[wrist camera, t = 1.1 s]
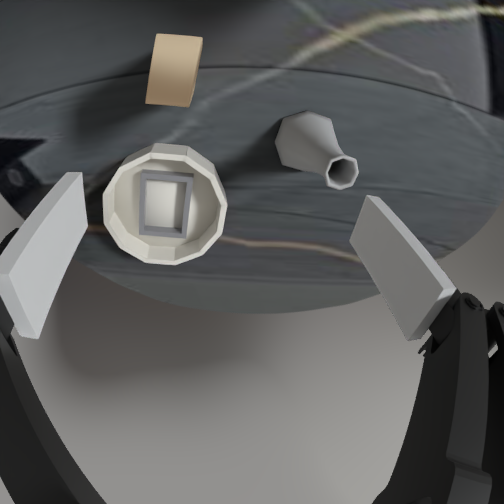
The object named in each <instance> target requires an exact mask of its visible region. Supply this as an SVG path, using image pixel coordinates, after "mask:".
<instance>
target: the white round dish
mask: <svg viewBox="0 0 504 504" xmlns="http://www.w3.org/2000/svg"><path fill="white" fill-rule="evenodd" d="M226 209H227V201H226V195H225V190H224V188H223V186H222V183H221V181H220V178H219V176H218V174H217V171H216V169H215V166H214V164H213V163H211V162H210V161H208V160H207V159H206V158H204V157H203V156H201V155H200V154H199V153H197V152H196V151H194V150H193V149H191V148H190V147H189V146H184V145H173V144H161V143H154V144H152V145H150V146H148V147H146V148H143V149H141V150H139V151H137V152H135V153H133V154H131V155H129V156H127V157H126V158H125V160H124V161H123V163H122V164H121V166H120V167H119V169H118V170H117V172H116V173H115V175H114V177H113V178H112V180H111V182H110V183H109V185H108V187H107V188H106V190H105V192H104V193H103V215H104V225H105V226H106V228H107V229H108V231H109V232H110V234H111V236H112V237H113V239H114V240H115V242H116V243H117V245H118V246H119V248H120V249H122V250H124V251H126V252H127V253H129V254H131V255H133V256H134V257H136V258H138V259H140V260H142V261H143V262H145V263H155V264H167V265H177V264H180V263H182V262H185V261H188V260H190V259H193V258H196V257H199V256H201V255H203V254H204V253H205V252H206V251H207V250H208V249H209V248H210V246H211V245H212V244H213V243H214V242H215V241H216V240H217V239H218V238H219V236H220V235H221V234H222V231H223V226H224V220H225V215H226Z"/></svg>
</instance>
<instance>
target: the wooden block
mask: <svg viewBox="0 0 504 504" xmlns="http://www.w3.org/2000/svg"><path fill="white" fill-rule="evenodd" d="M202 47H203V44H202V37H195V36H184V35H172V34H157V35H156V40H155V45H154V50H153V56H152V61H151V67H150V74H149V80H148V87H147V95H146V102H145V104H158V105H171V106H182V107H189V106H190V102H191V99H192V96H193V93H194V88H195V82H196V77H197V72H198V66H199V61H200V56H201V52H202Z"/></svg>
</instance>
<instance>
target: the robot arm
mask: <svg viewBox="0 0 504 504" xmlns="http://www.w3.org/2000/svg"><path fill="white" fill-rule="evenodd" d="M87 227H88V223H87V216H86V208H85V200H84V190H83V180H82V172H67V173H66V174H65V175H64V176H63V177H62V178H61V179H60V180H59V181H58V183H57V184H56V185H55V186H54V187H53V188H52V189H51V190H50V192H49V193H48V194H47V195H46V196H45V197H44V199H43V200H42V201H41V202H40V203H39V205H38V206H37V207H36V208H35V209H34V211H33V212H32V213H31V214H30V216H29V217H28V218H27V219H26V221H25V222H24V223H23V225H22V226H21V227H20V228H16V229H14V230H13V231H12V232H10V233H9V234H8V235H7V236H6V237H5V238H4V239H3V241H2V242H1V244H0V477H1V479H2V481H3V483H4V485H5V487H6V488H7V490H8V492H9V494H10V496H11V498H12V500H13V501H14V503H15V504H106V502H105V501H104V500H103V499H102V497H101V496H100V495H99V494H98V492H97V491H96V490H95V489H94V487H93V486H92V485H91V483H90V482H89V481H88V479H87V478H86V476H85V475H84V474H83V472H82V471H81V469H80V468H79V466H78V465H77V464H76V462H75V461H74V459H73V458H72V456H71V455H70V453H69V451H68V450H67V448H66V447H65V445H64V444H63V442H62V440H61V439H60V437H59V435H58V433H57V432H56V430H55V428H54V426H53V425H52V423H51V421H50V419H49V417H48V415H47V414H46V412H45V410H44V408H43V406H42V404H41V402H40V400H39V398H38V396H37V394H36V392H35V390H34V387H33V385H32V383H31V381H30V379H29V376H28V374H27V372H26V369H25V367H24V365H23V362H22V360H21V357H20V355H19V352H18V349H17V347H16V344H15V341H14V339H13V337H12V335H11V334H10V333H11V331H12V328H13V326H14V325H15V327H16V329H17V331H18V332H19V334H20V336H23V337H29V338H34V339H38V338H39V336H40V333H41V330H42V327H43V325H44V322H45V319H46V317H47V314H48V311H49V309H50V306H51V304H52V301H53V299H54V297H55V294H56V292H57V289H58V287H59V285H60V282H61V280H62V278H63V276H64V274H65V271H66V269H67V267H68V265H69V263H70V261H71V259H72V256H73V254H74V252H75V250H76V248H77V246H78V244H79V242H80V240H81V238H82V236H83V235H84V233H85V231H86V229H87ZM349 242H350V243H351V245H352V246H353V248H354V250H355V251H356V253H357V254H358V256H359V258H360V259H361V261H362V262H363V264H364V266H365V267H366V269H367V271H368V272H369V274H370V276H371V277H372V279H373V281H374V282H375V284H376V286H377V287H378V289H379V291H380V293H381V294H382V296H383V298H384V299H385V301H386V303H387V305H388V306H389V308H390V310H391V312H392V314H393V316H394V317H395V319H396V321H397V323H398V325H399V326H400V328H401V330H402V332H403V334H404V336H405V338H406V340H407V341H409V340H417V339H421V338H422V336H423V335H424V334H425V333H426V331H427V330H428V329H429V330H430V331H431V333H432V335H431V336H430V337H429V339H428V340H427V341H426V342H425V344H424V345H423V346H422V348H420V350H419V352H418V353H419V354H420V353H421V352H422V351H423V350H426V352H425V354H424V355H423V356H424V357H425V358H424V363H423V368H422V374H421V378H420V383H419V387H418V391H417V396H416V400H415V404H414V407H413V411H412V415H411V419H410V422H409V425H408V429H407V432H406V435H405V439H404V442H403V445H402V448H401V451H400V454H399V457H398V459H397V462H396V465H395V468H394V470H393V473H392V476H391V478H390V481H389V483H388V485H387V486H386V488H385V489H384V490H383V491H382V492H381V493H380V494H379V495H378V496H377V497H376V499H375V500H374V501H373V503H372V504H504V304H502V303H501V302H495V303H494V305H493V307H491V309H490V310H487V309H484V307H483V305H482V304H481V302H480V301H479V300H478V299H477V298H476V297H475V296H473V295H472V294H469V293H462V294H461V293H460V292H459V290H458V289H457V288H456V286H455V285H454V284H453V282H452V281H451V280H450V278H449V277H448V276H447V275H446V273H444V271H443V269H442V268H441V267H440V266H439V264H438V263H437V262H436V261H435V259H434V258H433V257H432V256H431V255H430V254H429V253H428V251H427V250H426V249H425V248H424V247H423V245H422V244H421V243H420V242H419V241H418V240H417V238H416V237H415V236H414V235H413V234H412V233H411V231H410V230H409V229H408V228H407V227H406V226H405V225H404V224H403V222H402V221H401V220H400V219H399V218H398V217H397V216H396V215H395V214H394V213H393V211H392V210H391V209H390V208H389V207H388V206H387V205H386V204H385V203H384V202H383V201H382V200H381V199H380V198H379V197H375V196H369V195H366V198H365V201H364V203H363V206H362V209H361V212H360V214H359V217H358V220H357V222H356V225H355V227H354V230H353V233H352V235H351V238H350V240H349ZM496 344H497V346H498V350H497V351H496V352H495V353H494V354H493V355H492V356H491V357H490V358H489V356H488V353H489V351H490V350H491V349H492V348H493V347H494V346H495V345H496Z"/></svg>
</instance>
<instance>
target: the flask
mask: <svg viewBox="0 0 504 504" xmlns="http://www.w3.org/2000/svg"><path fill="white" fill-rule="evenodd" d="M275 145H276V148H277V151H278V154H279V157H280V160H281V163H282V165H284V166H288V167H292V168H295V169H298V170H302V171H306V172H316V173H319V174H321V175H322V176H323V177H324V178H325V181H326V185H327V186H328V187H332V188H335V189H338V190H342V189H344V188H347V187H350V186H353V184H354V182H355V180H356V177H357V175H358V173H359V172H358V166H357V161H356V159H355V158H352V157H349V156H347V155H344V154H343V152H342V151H341V149H340V147H339V146H338V143H337V139H336V136H335V133H334V129H333V125H332V122H331V119H329V118H327V117H324V116H322V115H319V114H316V113H314V112H311V111H304V112H301V113H298V114H295V115H291V116H288V117H285V118H283V120H282V123H281V126H280V129H279V131H278V134H277V137H276V140H275Z"/></svg>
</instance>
